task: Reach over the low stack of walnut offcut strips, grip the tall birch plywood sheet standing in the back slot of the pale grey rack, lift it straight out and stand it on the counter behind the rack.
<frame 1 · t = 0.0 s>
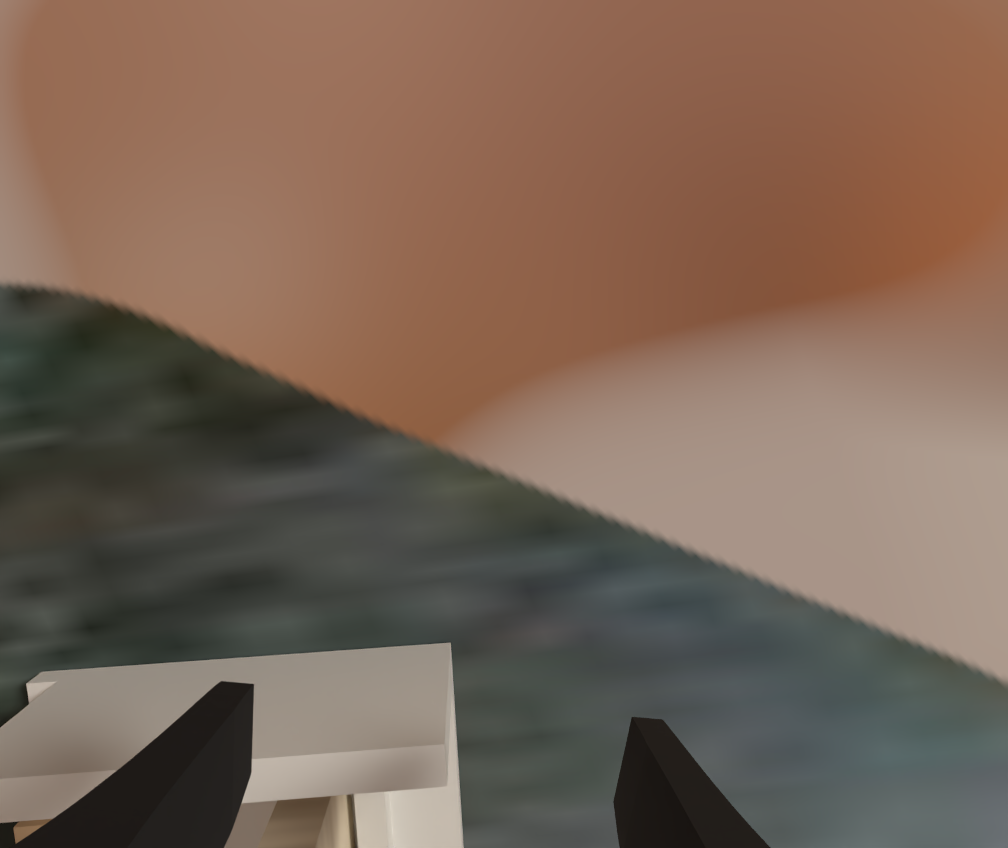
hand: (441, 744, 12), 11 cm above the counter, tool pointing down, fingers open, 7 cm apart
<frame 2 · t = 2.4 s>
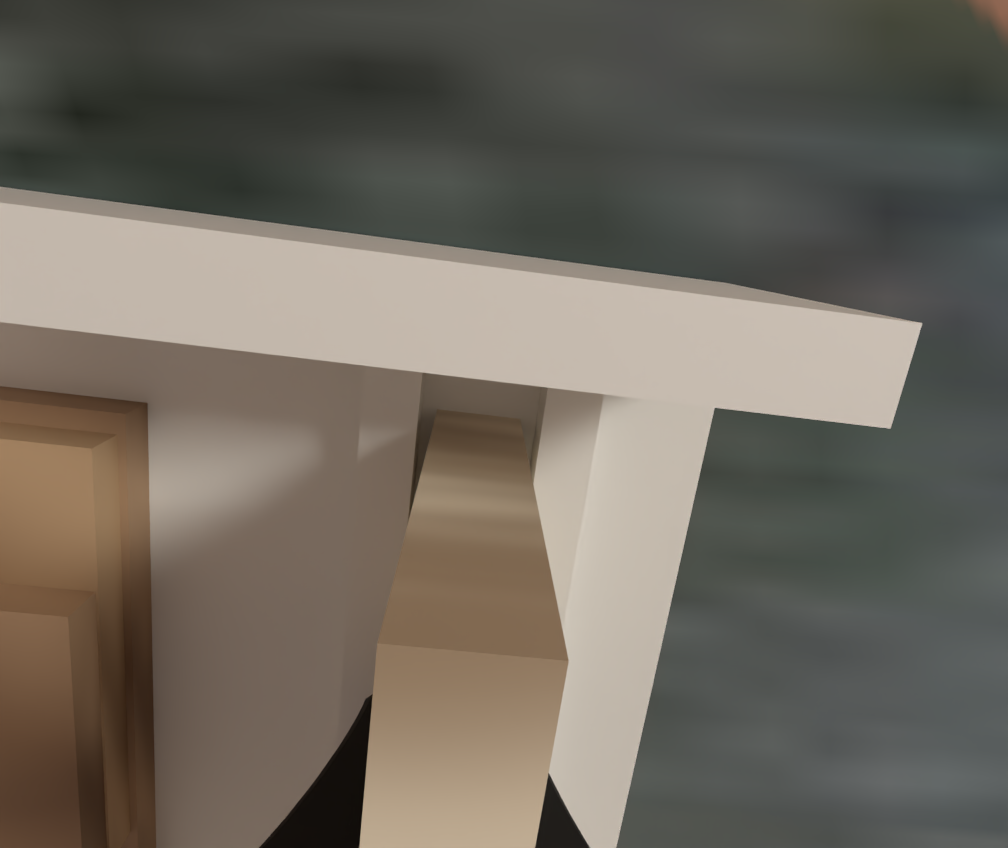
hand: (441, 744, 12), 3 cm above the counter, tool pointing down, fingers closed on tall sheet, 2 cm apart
tall sheet: (446, 679, 14), point 1 cm above the counter, touching gripper, rack
offcut stack: (73, 646, 14), point 1 cm above the counter, touching rack
rack: (338, 646, 15), on the counter
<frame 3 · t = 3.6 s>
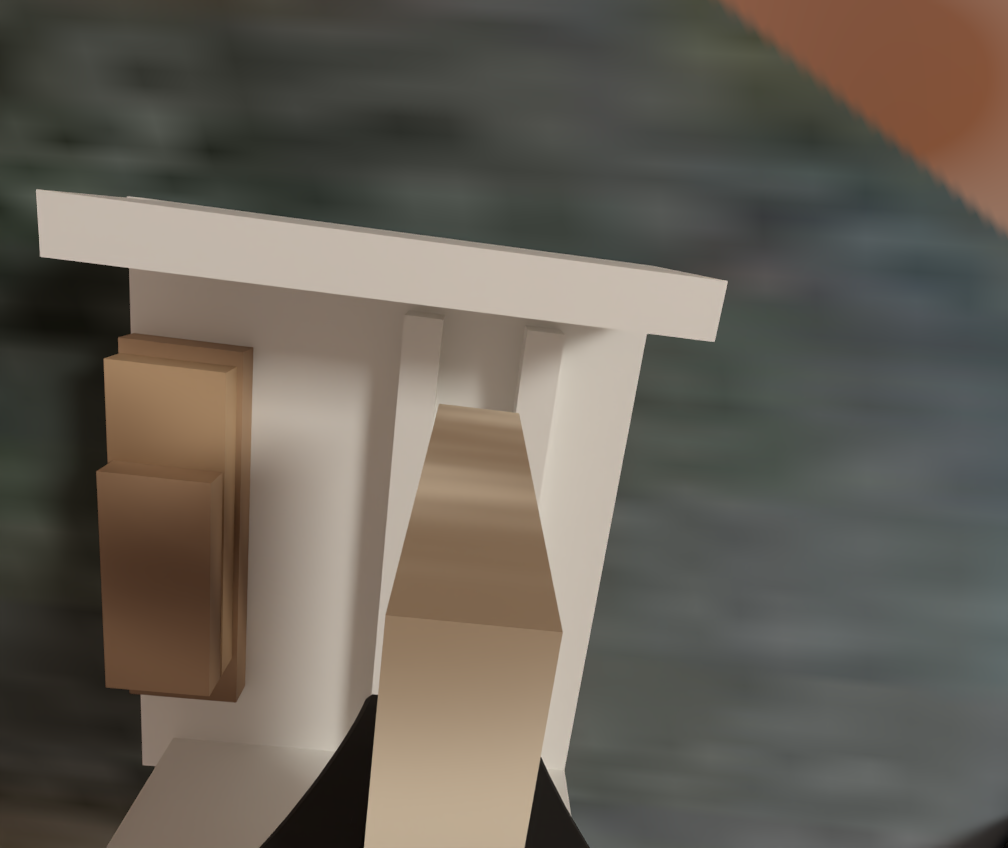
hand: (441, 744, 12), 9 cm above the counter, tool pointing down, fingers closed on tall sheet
tall sheet: (447, 665, 15), point 6 cm above the counter, touching gripper
offcut stack: (194, 523, 20), point 1 cm above the counter, touching rack
rack: (378, 529, 21), on the counter
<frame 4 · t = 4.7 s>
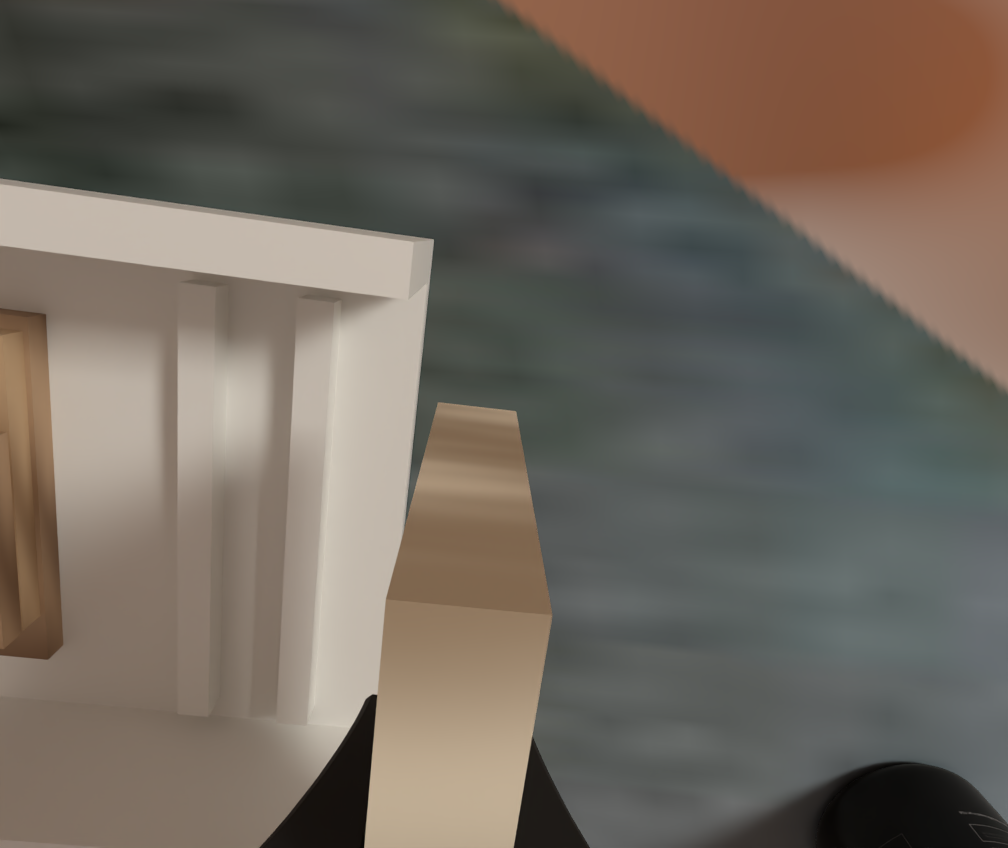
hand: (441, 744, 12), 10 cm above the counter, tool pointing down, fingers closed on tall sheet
tall sheet: (447, 657, 15), point 7 cm above the counter, touching gripper
supplement bottle: (890, 822, 26), on the counter
offcut stack: (1, 485, 20), point 1 cm above the counter, touching rack
rack: (189, 494, 21), on the counter
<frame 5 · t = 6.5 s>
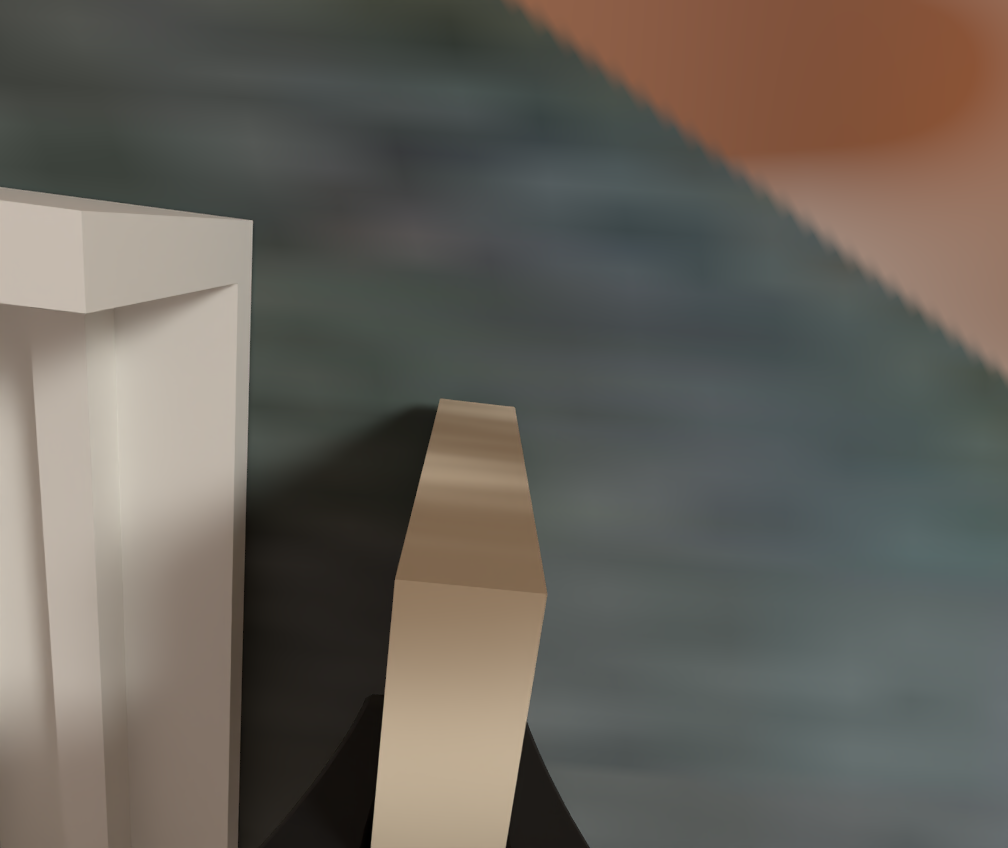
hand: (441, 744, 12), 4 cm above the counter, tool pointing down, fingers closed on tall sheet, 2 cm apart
tall sheet: (448, 644, 16), point 1 cm above the counter, touching gripper
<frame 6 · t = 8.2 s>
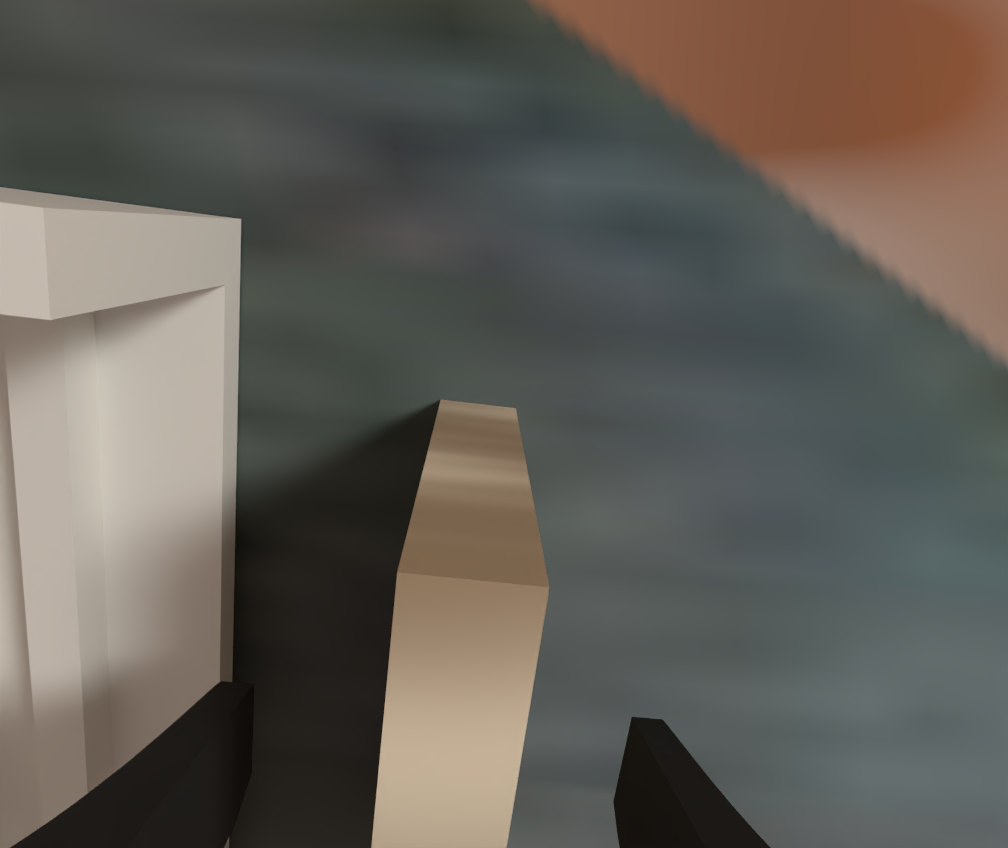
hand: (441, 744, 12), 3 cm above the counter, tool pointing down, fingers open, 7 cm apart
tall sheet: (448, 645, 16), on the counter
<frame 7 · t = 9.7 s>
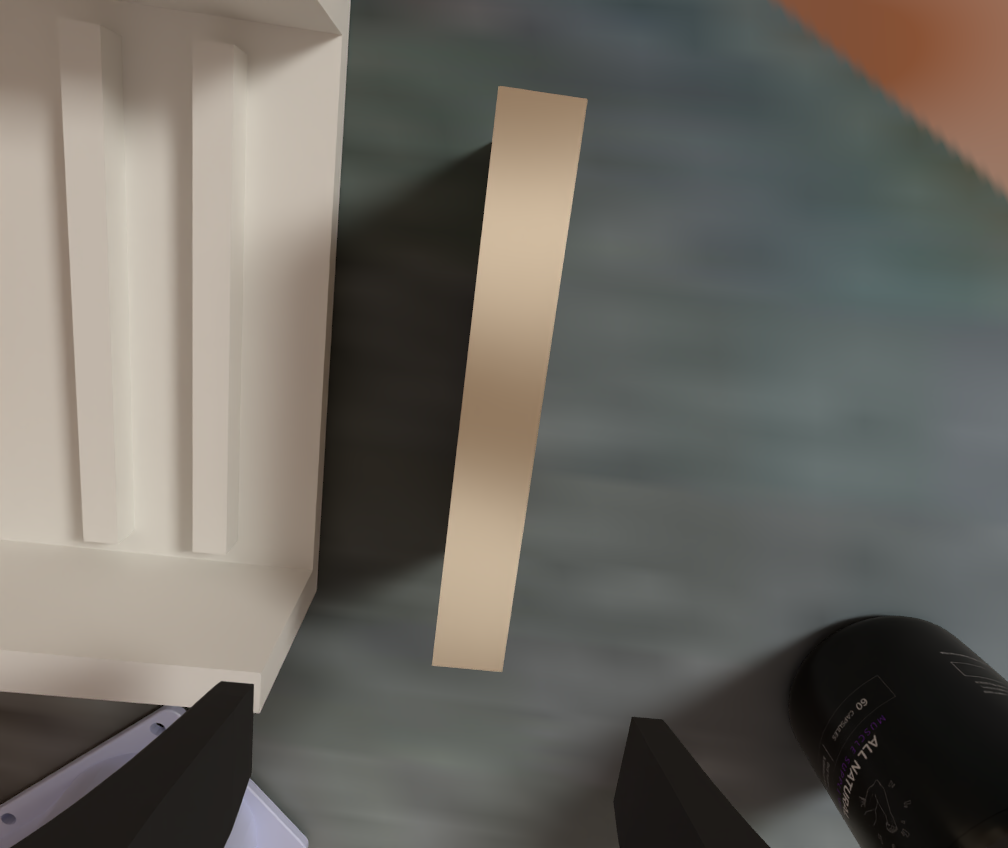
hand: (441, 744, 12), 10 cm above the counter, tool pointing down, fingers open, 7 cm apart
tall sheet: (494, 351, 21), on the counter
supplement bottle: (869, 686, 25), on the counter
rack: (94, 299, 20), on the counter
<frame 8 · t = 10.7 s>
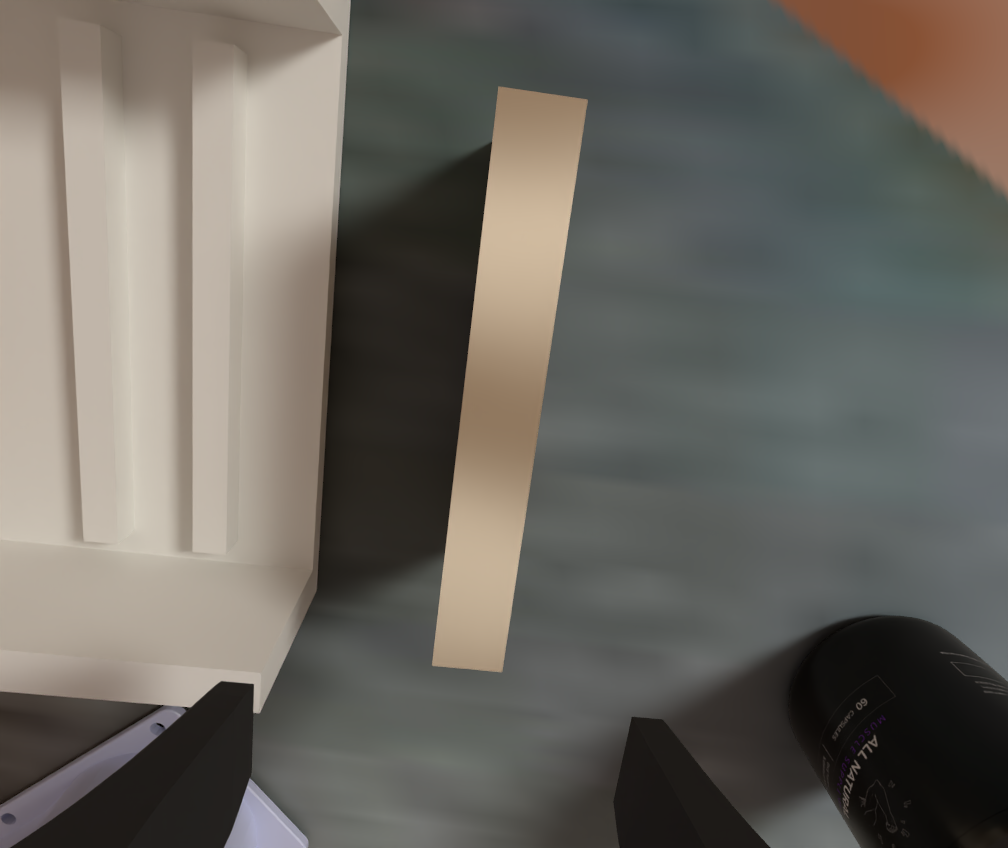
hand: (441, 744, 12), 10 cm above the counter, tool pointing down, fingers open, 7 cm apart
tall sheet: (494, 351, 21), on the counter
supplement bottle: (869, 686, 25), on the counter
rack: (94, 299, 20), on the counter
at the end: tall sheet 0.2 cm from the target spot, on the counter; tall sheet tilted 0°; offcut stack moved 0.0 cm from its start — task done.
